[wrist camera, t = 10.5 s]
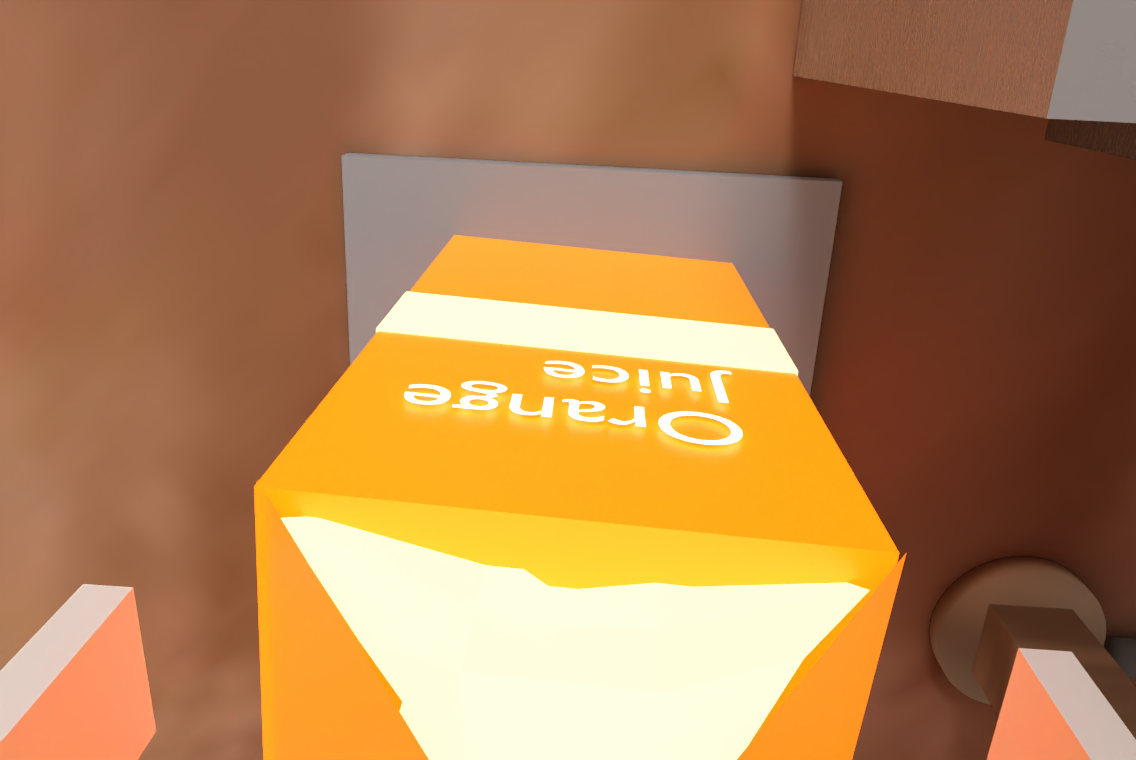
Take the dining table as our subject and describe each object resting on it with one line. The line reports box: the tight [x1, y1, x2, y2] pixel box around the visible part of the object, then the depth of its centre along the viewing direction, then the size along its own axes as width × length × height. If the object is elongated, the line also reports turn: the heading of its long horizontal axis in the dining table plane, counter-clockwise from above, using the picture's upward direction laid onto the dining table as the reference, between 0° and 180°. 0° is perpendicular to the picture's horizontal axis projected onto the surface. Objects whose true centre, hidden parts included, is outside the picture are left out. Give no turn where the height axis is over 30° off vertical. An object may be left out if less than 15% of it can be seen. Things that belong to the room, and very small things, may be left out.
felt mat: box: [342, 153, 842, 397], centre depth 26 cm, size 13×13×1 cm
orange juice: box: [254, 235, 907, 760], centre depth 16 cm, size 8×9×20 cm
